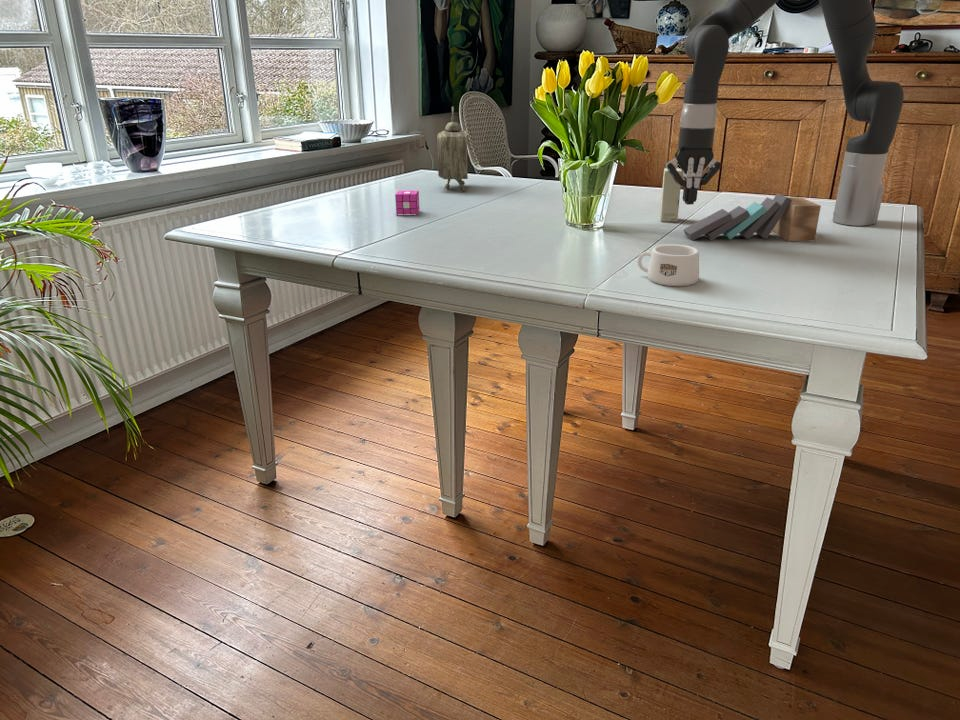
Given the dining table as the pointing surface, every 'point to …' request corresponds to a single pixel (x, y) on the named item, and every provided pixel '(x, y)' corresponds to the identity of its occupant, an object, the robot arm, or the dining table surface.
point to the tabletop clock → (452, 153)
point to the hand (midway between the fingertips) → (689, 203)
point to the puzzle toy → (407, 202)
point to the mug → (672, 265)
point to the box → (670, 197)
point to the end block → (798, 220)
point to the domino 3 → (746, 220)
